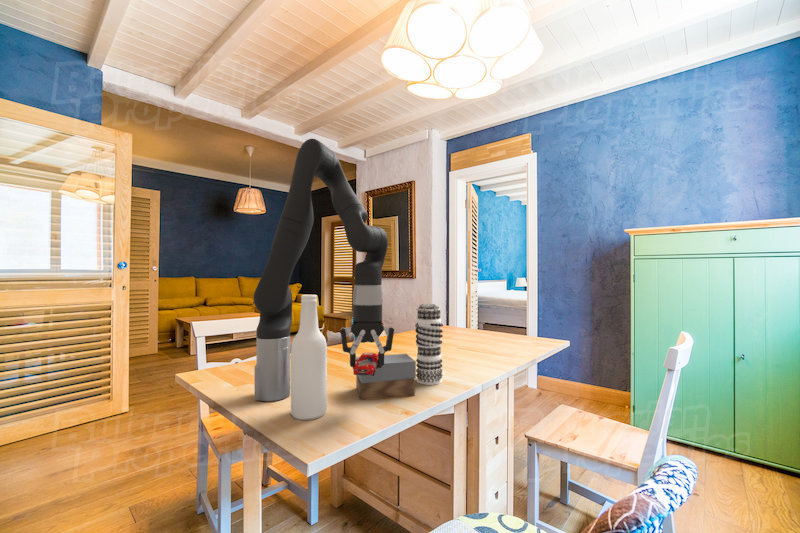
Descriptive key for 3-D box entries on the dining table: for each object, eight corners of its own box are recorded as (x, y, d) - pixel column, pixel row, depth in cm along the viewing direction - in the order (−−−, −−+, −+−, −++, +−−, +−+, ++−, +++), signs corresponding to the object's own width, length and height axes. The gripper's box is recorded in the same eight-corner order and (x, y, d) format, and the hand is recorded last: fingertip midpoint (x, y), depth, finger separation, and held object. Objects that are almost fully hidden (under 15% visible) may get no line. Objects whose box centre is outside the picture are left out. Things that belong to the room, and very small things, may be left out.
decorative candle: (443, 376, 120) (442, 303, 120) (443, 385, 110) (443, 305, 111) (416, 376, 121) (415, 303, 121) (414, 384, 111) (414, 305, 112)
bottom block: (359, 401, 98) (359, 383, 99) (356, 389, 108) (356, 373, 108) (414, 396, 102) (414, 379, 102) (407, 385, 112) (407, 370, 112)
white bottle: (284, 413, 89) (284, 295, 89) (315, 404, 95) (315, 293, 96) (302, 424, 83) (302, 296, 83) (333, 413, 89) (333, 294, 89)
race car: (373, 378, 84) (373, 362, 84) (350, 377, 84) (350, 361, 84) (381, 364, 97) (382, 349, 97) (362, 363, 97) (362, 348, 97)
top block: (361, 383, 98) (361, 365, 99) (356, 373, 108) (356, 357, 108) (415, 378, 103) (415, 361, 103) (406, 369, 112) (406, 353, 112)
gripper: (393, 301, 96) (392, 363, 95) (339, 301, 93) (338, 365, 93) (397, 303, 88) (396, 371, 88) (339, 304, 86) (338, 373, 86)
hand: (366, 367), depth 91 cm, fingers closed on race car, 6 cm apart
